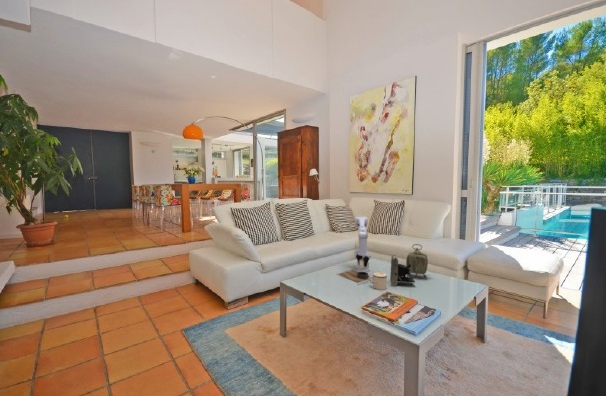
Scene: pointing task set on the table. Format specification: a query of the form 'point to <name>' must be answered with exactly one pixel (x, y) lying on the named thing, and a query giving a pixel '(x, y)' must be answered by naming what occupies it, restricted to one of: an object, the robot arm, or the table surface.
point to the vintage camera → (399, 272)
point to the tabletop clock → (417, 262)
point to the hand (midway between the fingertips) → (362, 265)
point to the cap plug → (362, 265)
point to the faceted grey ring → (362, 275)
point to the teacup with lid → (379, 280)
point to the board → (352, 276)
